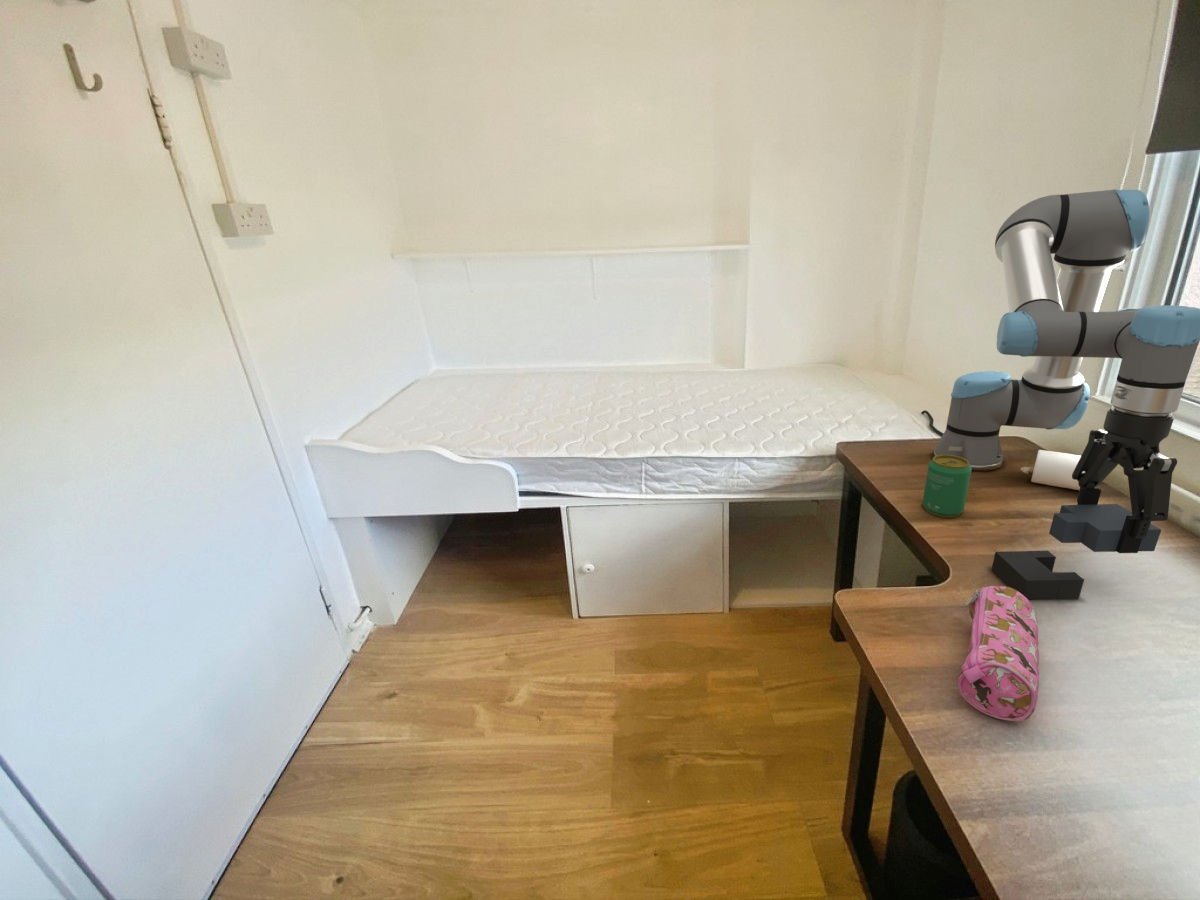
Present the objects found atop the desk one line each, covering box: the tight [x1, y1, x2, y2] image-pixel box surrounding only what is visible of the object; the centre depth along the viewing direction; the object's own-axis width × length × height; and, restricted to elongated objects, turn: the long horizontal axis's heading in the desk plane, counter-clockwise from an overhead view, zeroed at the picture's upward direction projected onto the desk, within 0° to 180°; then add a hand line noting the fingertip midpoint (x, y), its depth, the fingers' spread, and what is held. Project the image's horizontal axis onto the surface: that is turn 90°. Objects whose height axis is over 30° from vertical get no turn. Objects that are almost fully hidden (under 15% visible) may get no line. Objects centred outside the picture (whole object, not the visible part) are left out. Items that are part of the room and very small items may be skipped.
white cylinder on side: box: [1030, 449, 1085, 491], centre depth 130 cm, size 12×10×8 cm
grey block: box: [1048, 503, 1162, 553], centre depth 93 cm, size 9×12×4 cm
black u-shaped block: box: [991, 550, 1085, 601], centre depth 97 cm, size 9×9×4 cm
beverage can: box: [922, 455, 973, 518], centre depth 122 cm, size 8×8×12 cm
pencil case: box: [956, 585, 1040, 722], centre depth 79 cm, size 21×9×9 cm, turn 146°
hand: (1103, 536), depth 93 cm, fingers closed on grey block, 9 cm apart
